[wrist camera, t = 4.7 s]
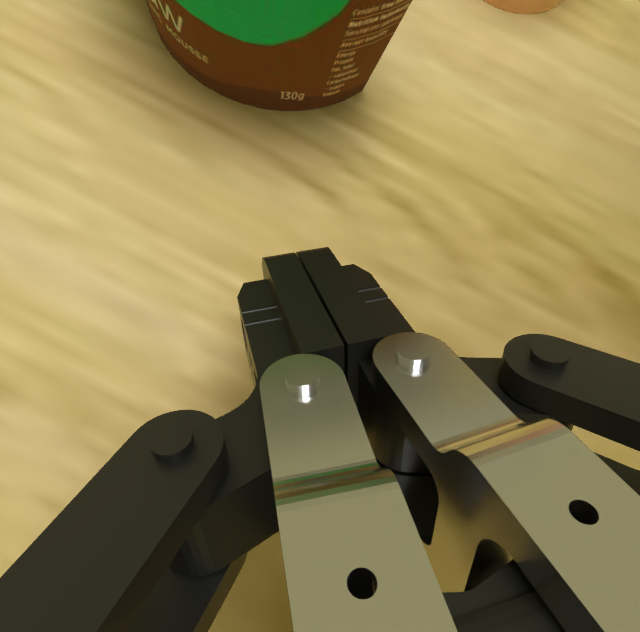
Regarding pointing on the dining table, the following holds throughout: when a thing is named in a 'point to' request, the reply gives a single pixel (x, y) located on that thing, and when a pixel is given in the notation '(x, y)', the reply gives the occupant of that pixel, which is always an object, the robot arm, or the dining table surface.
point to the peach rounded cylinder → (524, 5)
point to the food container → (279, 46)
